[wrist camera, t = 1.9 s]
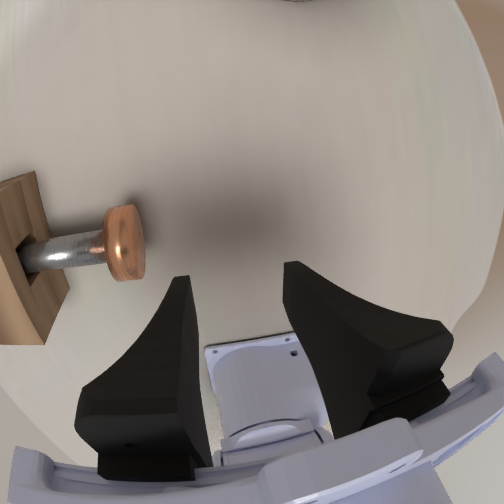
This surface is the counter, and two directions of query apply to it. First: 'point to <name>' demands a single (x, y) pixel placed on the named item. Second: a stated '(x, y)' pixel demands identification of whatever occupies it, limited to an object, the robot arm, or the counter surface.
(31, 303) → the bearing block
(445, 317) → the counter surface
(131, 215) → the copper capped shaft
